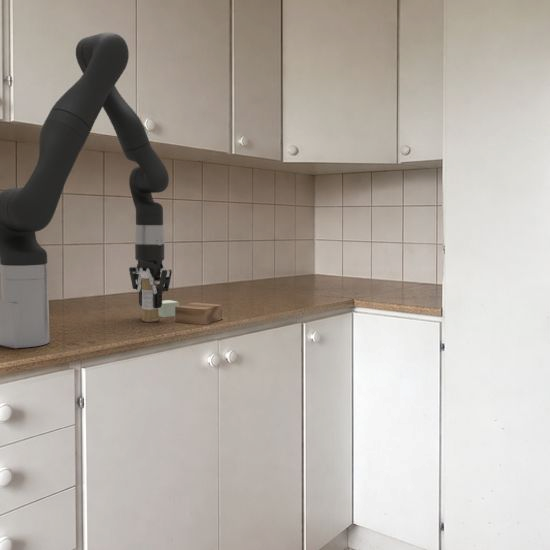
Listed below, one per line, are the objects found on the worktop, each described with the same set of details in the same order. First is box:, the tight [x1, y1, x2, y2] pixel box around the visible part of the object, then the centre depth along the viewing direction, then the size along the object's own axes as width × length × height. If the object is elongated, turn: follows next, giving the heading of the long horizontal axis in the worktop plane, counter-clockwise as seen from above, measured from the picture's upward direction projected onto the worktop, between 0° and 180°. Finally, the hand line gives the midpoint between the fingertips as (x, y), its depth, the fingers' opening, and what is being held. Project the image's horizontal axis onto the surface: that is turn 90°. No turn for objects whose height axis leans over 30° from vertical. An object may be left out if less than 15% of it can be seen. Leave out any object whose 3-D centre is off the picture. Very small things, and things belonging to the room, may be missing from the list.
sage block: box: [159, 299, 180, 318], centre depth 164 cm, size 5×5×4 cm
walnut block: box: [174, 302, 223, 326], centre depth 156 cm, size 9×9×4 cm
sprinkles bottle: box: [141, 271, 160, 323], centre depth 155 cm, size 5×5×13 cm
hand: (150, 306), depth 155 cm, fingers open, 4 cm apart
